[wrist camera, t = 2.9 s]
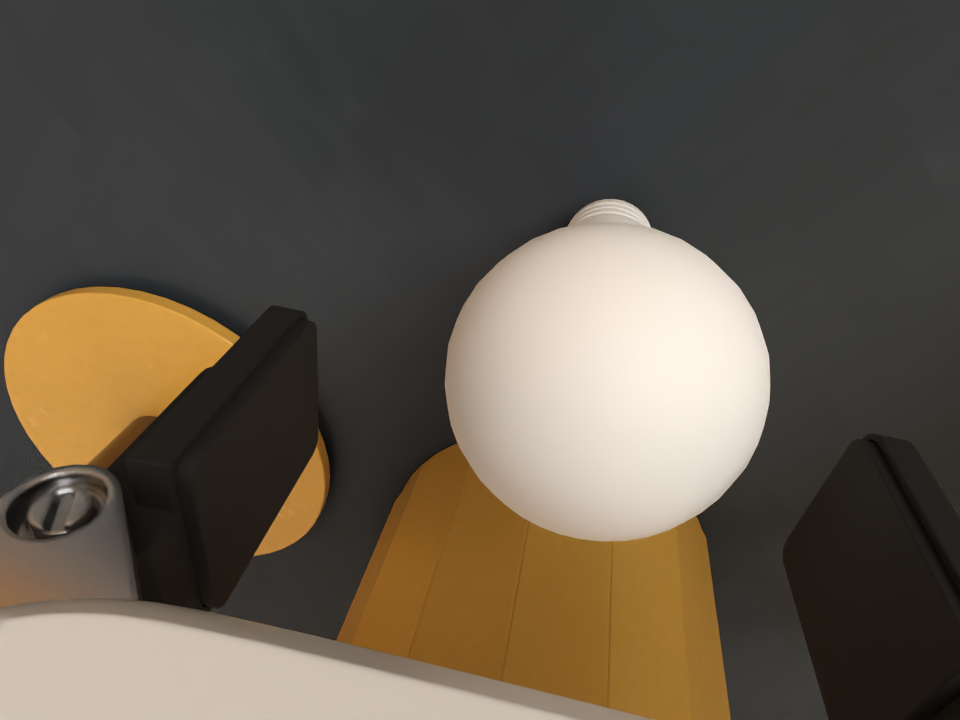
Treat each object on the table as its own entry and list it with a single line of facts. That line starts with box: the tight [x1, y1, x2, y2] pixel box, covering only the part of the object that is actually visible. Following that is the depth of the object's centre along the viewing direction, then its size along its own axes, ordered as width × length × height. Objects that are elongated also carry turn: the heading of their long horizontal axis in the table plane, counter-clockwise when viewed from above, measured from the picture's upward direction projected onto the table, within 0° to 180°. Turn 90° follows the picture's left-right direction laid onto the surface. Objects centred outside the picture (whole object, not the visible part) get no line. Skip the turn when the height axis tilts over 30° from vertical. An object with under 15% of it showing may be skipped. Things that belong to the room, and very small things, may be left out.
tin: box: [336, 443, 731, 720], centre depth 22 cm, size 14×14×14 cm
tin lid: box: [4, 286, 330, 556], centre depth 25 cm, size 15×15×6 cm
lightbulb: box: [445, 199, 770, 542], centre depth 14 cm, size 6×6×11 cm
